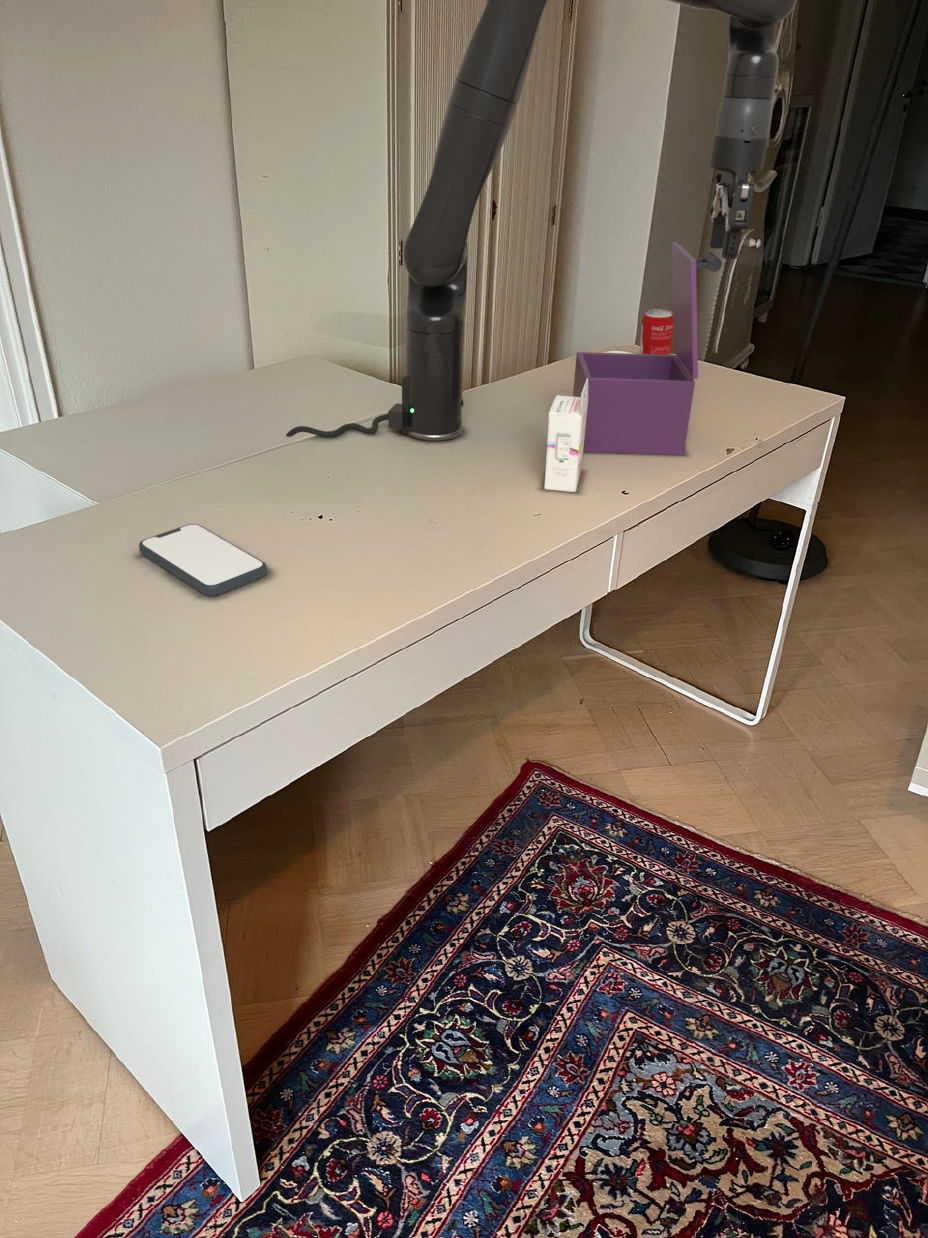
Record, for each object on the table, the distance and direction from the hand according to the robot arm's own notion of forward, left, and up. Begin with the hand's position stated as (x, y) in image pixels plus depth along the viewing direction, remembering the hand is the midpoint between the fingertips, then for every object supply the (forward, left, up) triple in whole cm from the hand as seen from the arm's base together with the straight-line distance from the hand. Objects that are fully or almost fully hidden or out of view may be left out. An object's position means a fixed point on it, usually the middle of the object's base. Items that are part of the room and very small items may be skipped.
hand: (722, 253), depth 145 cm
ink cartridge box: (-18, -25, -30) cm, 43 cm away
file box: (-11, -3, -30) cm, 32 cm away
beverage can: (-9, +23, -30) cm, 39 cm away
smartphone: (-56, -65, -30) cm, 91 cm away
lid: (-5, -1, -8) cm, 10 cm away
